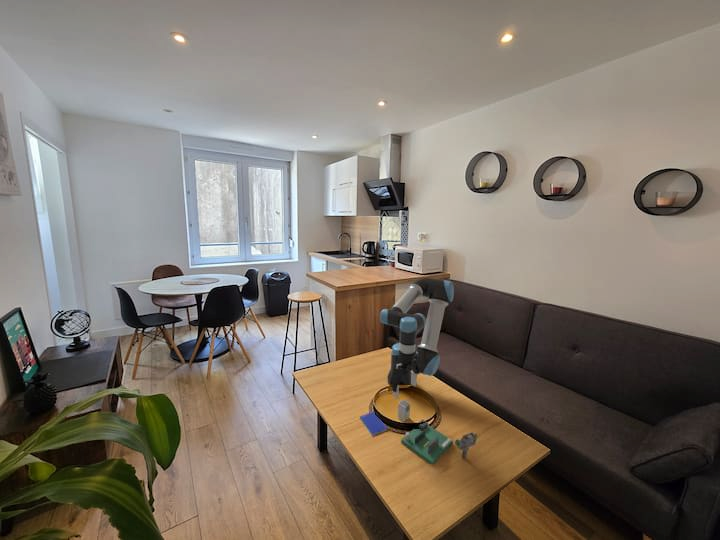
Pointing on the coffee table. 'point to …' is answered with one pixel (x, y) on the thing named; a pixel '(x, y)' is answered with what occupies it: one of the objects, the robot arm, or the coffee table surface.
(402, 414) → the plug
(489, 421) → the coffee table surface
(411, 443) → the board
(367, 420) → the hard drive
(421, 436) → the header
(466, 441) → the mechanical component
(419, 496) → the coffee table surface
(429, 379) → the coffee table surface
